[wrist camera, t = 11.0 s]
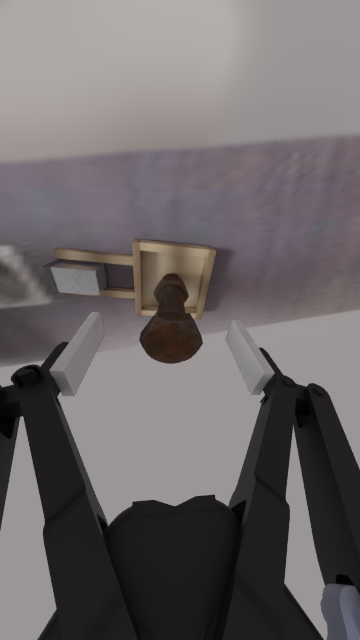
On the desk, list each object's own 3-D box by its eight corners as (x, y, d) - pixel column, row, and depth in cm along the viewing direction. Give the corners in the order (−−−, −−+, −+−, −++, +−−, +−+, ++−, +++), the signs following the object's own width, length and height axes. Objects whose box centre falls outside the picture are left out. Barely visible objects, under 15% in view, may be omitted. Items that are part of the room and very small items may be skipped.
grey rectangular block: (65, 282, 26) (52, 292, 23) (58, 259, 24) (42, 266, 21) (107, 286, 27) (99, 295, 24) (104, 263, 25) (94, 271, 22)
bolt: (168, 257, 24) (166, 307, 12) (194, 276, 26) (214, 336, 14) (148, 286, 27) (130, 353, 15) (173, 302, 29) (175, 372, 17)
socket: (74, 303, 29) (67, 310, 27) (53, 229, 22) (41, 231, 20) (199, 311, 31) (201, 318, 29) (212, 247, 25) (216, 250, 22)
